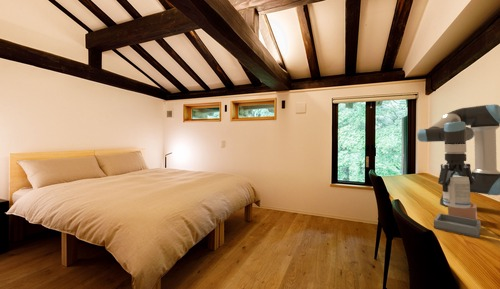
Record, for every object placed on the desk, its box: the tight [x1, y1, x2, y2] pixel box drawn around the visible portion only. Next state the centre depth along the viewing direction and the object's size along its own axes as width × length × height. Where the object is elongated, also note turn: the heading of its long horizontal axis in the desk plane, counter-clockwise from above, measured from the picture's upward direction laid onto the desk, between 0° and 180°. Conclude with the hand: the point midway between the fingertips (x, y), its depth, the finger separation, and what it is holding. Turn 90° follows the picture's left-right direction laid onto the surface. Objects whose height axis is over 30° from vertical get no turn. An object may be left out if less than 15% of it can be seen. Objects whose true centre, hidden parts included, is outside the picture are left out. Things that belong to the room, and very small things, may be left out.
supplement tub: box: [441, 175, 472, 208], centre depth 100 cm, size 10×10×15 cm
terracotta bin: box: [447, 203, 478, 220], centre depth 109 cm, size 10×10×9 cm
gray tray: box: [433, 212, 482, 239], centre depth 100 cm, size 15×15×4 cm
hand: (456, 198), depth 100 cm, fingers closed on supplement tub, 9 cm apart
